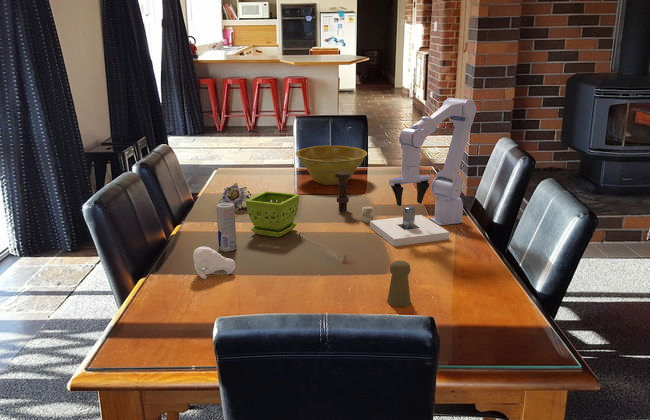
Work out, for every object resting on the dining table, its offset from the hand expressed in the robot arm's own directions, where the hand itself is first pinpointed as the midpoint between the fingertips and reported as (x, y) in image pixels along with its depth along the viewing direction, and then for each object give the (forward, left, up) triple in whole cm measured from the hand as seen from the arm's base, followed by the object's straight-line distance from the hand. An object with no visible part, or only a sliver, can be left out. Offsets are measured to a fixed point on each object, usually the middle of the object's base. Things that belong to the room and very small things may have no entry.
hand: (409, 204), depth 203 cm
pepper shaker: (+26, +47, -11) cm, 55 cm away
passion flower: (+50, -50, -11) cm, 71 cm away
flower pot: (+43, -17, -11) cm, 47 cm away
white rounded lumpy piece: (+68, +13, -11) cm, 70 cm away
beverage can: (+61, -6, -11) cm, 62 cm away
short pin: (+8, -17, -10) cm, 21 cm away
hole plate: (0, 0, -10) cm, 10 cm away
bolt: (+12, -32, -11) cm, 36 cm away
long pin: (0, 0, -10) cm, 10 cm away
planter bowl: (+1, -76, -11) cm, 77 cm away
